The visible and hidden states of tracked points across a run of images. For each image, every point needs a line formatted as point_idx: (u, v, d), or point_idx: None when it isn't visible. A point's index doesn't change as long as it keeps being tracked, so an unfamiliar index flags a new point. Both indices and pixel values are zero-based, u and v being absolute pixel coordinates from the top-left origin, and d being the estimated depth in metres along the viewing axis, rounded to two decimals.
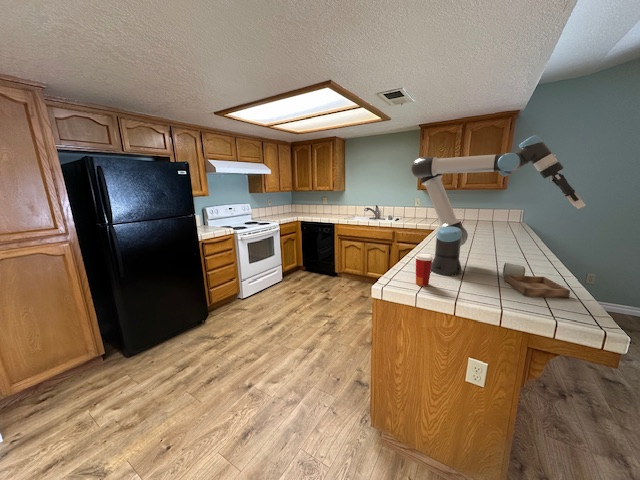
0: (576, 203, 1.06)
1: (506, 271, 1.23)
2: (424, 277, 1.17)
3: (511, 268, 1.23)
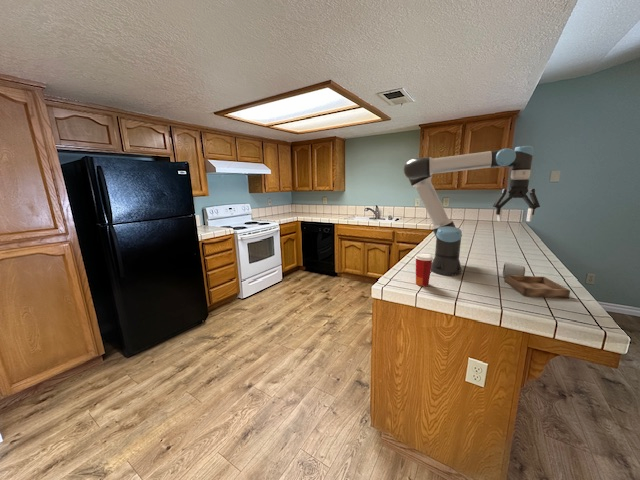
0: (498, 216, 1.34)
1: (506, 271, 1.24)
2: (424, 277, 1.17)
3: (511, 268, 1.23)
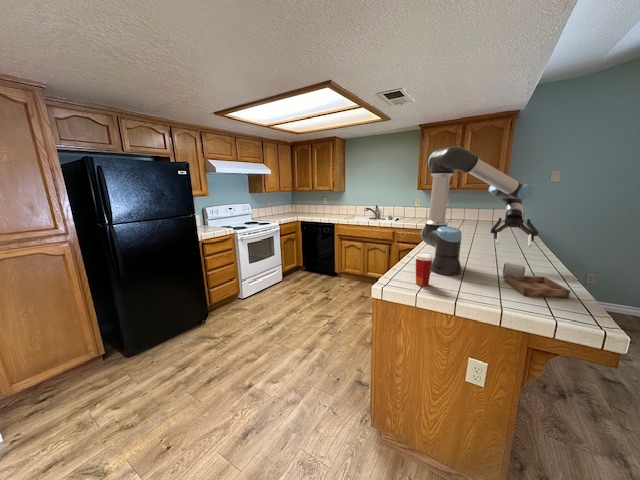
0: (496, 240, 1.38)
1: (506, 271, 1.24)
2: (424, 277, 1.17)
3: (511, 268, 1.23)
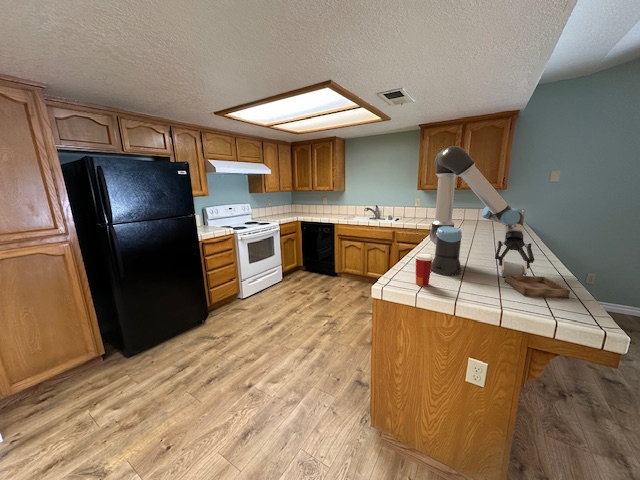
0: (501, 267, 1.27)
1: (505, 270, 1.25)
2: (424, 277, 1.17)
3: (510, 267, 1.24)
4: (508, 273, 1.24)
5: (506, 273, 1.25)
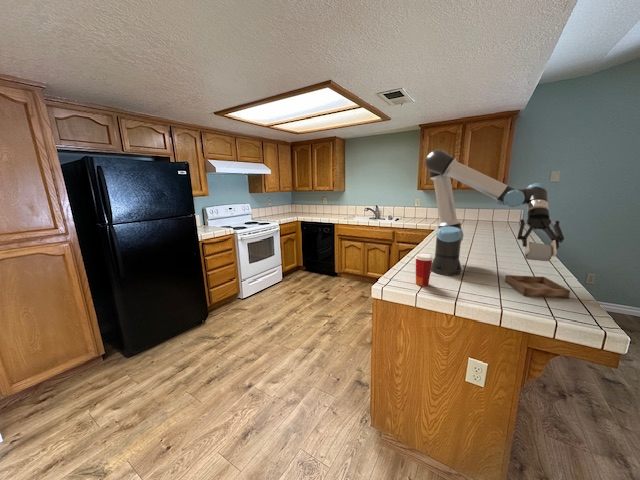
0: (526, 248, 1.12)
1: (531, 251, 1.09)
2: (424, 277, 1.17)
3: (536, 247, 1.09)
4: (534, 254, 1.09)
5: (532, 254, 1.09)
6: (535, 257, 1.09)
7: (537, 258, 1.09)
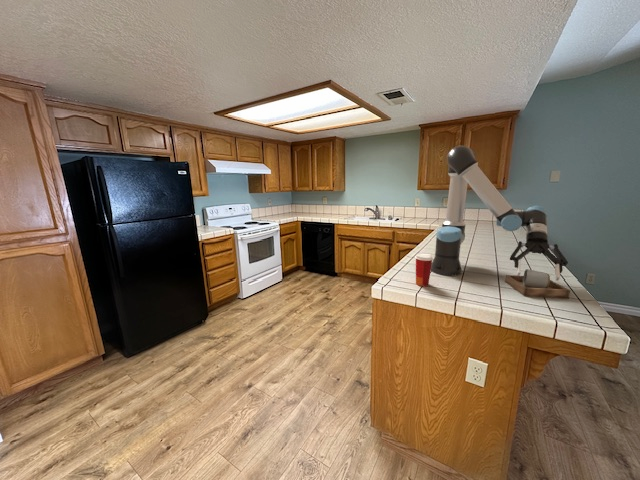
0: (517, 269, 1.14)
1: (528, 279, 1.10)
2: (424, 277, 1.17)
3: (534, 276, 1.10)
4: (531, 282, 1.10)
5: (529, 282, 1.10)
6: (532, 285, 1.10)
7: (534, 286, 1.10)
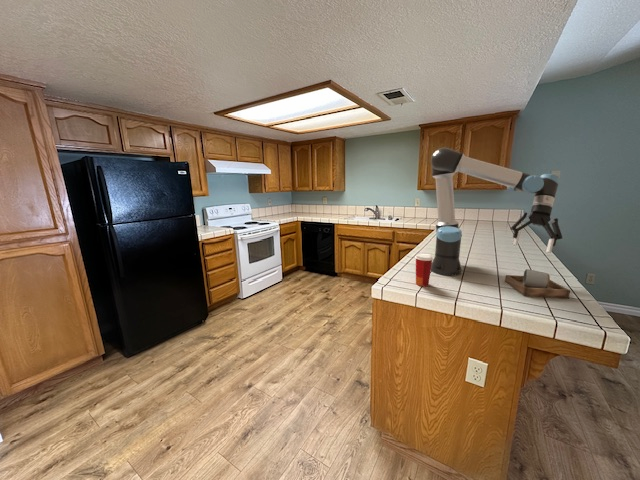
0: (514, 240, 1.25)
1: (528, 279, 1.10)
2: (424, 277, 1.17)
3: (533, 275, 1.10)
4: (531, 282, 1.10)
5: (529, 282, 1.11)
6: (532, 285, 1.11)
7: (534, 286, 1.10)
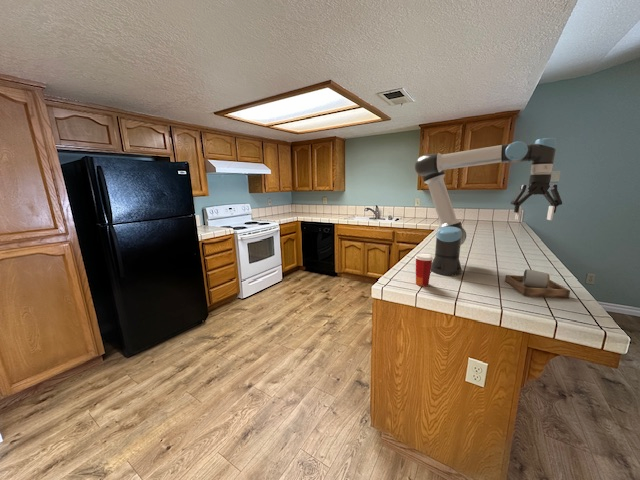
0: (516, 214, 1.24)
1: (527, 279, 1.10)
2: (424, 277, 1.17)
3: (533, 275, 1.10)
4: (531, 282, 1.10)
5: (528, 282, 1.11)
6: (532, 285, 1.11)
7: (534, 286, 1.11)
